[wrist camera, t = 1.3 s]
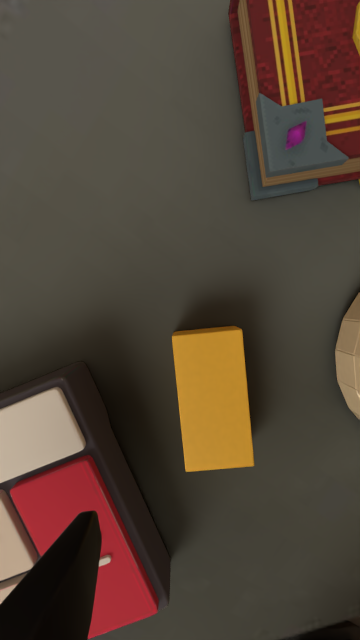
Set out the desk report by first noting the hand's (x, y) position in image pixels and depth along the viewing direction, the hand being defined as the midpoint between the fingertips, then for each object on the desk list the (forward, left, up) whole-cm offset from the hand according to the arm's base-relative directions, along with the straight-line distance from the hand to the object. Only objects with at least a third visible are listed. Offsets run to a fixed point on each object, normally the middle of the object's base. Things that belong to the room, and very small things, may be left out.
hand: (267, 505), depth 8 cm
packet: (0, +1, -12) cm, 12 cm away
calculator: (-6, +12, -12) cm, 18 cm away
